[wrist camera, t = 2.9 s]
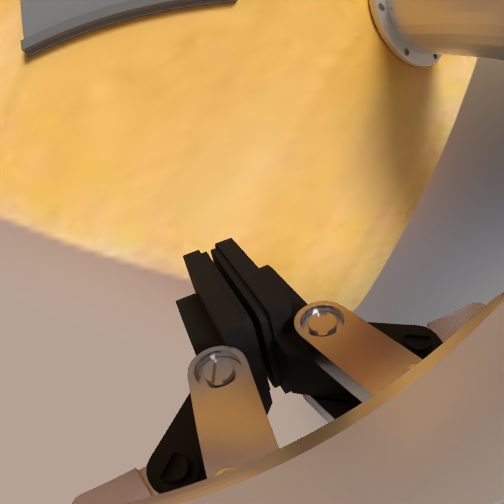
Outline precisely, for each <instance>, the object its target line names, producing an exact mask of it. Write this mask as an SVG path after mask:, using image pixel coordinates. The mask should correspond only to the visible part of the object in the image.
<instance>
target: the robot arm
mask: <svg viewBox="0 0 504 504" xmlns="http://www.w3.org/2000/svg"><path fill="white" fill-rule="evenodd" d="M369 5H370V11H371V14H372V17H373V20H374V23H375V25H376V27H377V30H378V32H379V33H380V35H381V37H382V39H383V40H384V42H385V43H386V44H387V46H388V47H389V48H390V50H391V51H392V52H393V53H394V54H395V55H396V56H397V57H399V58H400V59H401V60H402V61H404V62H406V63H408V64H410V65H413V66H422V67H426V66H431V65H433V64H434V63H436V62H437V61H438V60H439V58H440V57H441V55H442V54H447V55H462V56H473V57H483V58H491V59H498V60H504V0H369ZM215 247H216V248H215V249H212V250H211V254H212V258H213V261H214V262H213V261H212V259H211V258H210V256H209V255H208V253H207V252H204V253H200V251H199V250H197V251H194V252H192V253H189V254H186V255H184V256H183V258H184V261H185V264H186V267H187V270H188V272H189V275H190V278H191V281H192V284H193V287H194V289H195V292H196V293H195V294H192V295H190V296H187V297H185V298H182V299H180V300H177V301H176V304H177V306H178V309H179V312H180V314H181V317H182V320H183V323H184V325H185V328H186V330H187V333H188V336H189V338H190V341H191V343H192V346H193V348H194V351H195V353H196V357H195V358H194V359H193V360H192V362H191V363H190V366H189V368H188V382H189V388H190V394H189V395H188V397H187V399H186V400H185V402H184V403H183V405H182V407H181V408H180V410H179V412H178V414H177V415H176V417H175V418H174V420H173V422H172V423H171V425H170V426H169V428H168V430H167V431H166V433H165V435H164V436H163V438H162V439H161V441H160V443H159V445H158V446H157V448H156V449H155V451H154V453H153V454H152V456H151V457H150V459H149V462H148V464H147V466H146V467H144V468H142V469H140V470H137V469H136V468H134V469H133V470H130V471H129V472H127V473H125V474H123V475H121V476H119V477H117V478H115V479H113V480H111V481H109V482H107V483H104V484H102V485H100V486H98V487H96V488H94V489H92V490H89V491H87V492H85V493H83V494H81V495H79V496H78V497H76V498H75V500H74V501H73V503H72V504H504V292H503V293H501V294H500V295H498V296H497V297H496V298H494V299H493V300H492V301H491V302H489V303H488V304H487V305H484V304H482V303H472V304H468V305H467V306H465V307H463V308H460V309H458V310H456V311H454V312H452V313H450V314H448V315H445V316H443V317H441V318H439V319H436V320H434V321H432V322H429V323H428V325H427V327H423V326H417V325H400V324H386V323H372V322H366V321H364V320H363V319H361V318H360V317H358V316H357V315H355V314H354V313H352V312H351V311H349V310H348V309H346V308H345V307H343V306H341V305H339V304H337V303H334V302H329V301H319V302H315V303H311V304H309V305H308V304H307V303H306V302H305V301H304V300H303V299H302V298H301V297H300V296H299V295H298V294H297V293H296V292H295V291H294V290H293V289H292V288H291V287H290V286H289V285H288V284H287V283H286V282H285V281H284V280H283V279H282V278H281V277H280V276H279V275H278V274H277V273H276V271H275V270H274V269H273V268H272V267H270V266H269V265H266V266H263V267H261V268H258V267H257V266H256V265H255V264H254V262H253V261H252V260H251V259H250V258H249V257H248V256H247V255H246V254H245V252H244V251H243V250H242V249H241V248H240V247H239V246H238V245H237V244H236V242H235V241H234V240H233V239H232V238H229V239H227V240H224V241H221V242H219V243H216V244H215ZM267 377H268V379H269V380H270V382H271V383H272V385H273V386H274V387H275V388H276V387H278V386H281V388H282V389H283V391H284V392H285V394H286V393H288V392H290V391H292V392H293V393H297V394H303V397H304V398H305V400H306V401H307V402H308V403H309V404H310V405H311V406H312V407H313V408H314V409H315V410H316V411H317V412H318V413H319V414H320V415H321V416H322V417H324V419H325V420H326V421H328V422H329V423H328V424H326V425H325V426H323V427H321V428H319V429H317V430H316V431H314V432H312V433H310V434H308V435H306V436H304V437H302V438H300V439H298V440H297V441H295V442H293V443H291V444H289V445H287V446H285V447H283V448H281V449H279V447H278V444H277V442H276V439H275V436H274V433H273V431H272V428H271V425H270V423H269V420H268V417H267V414H268V412H269V409H270V407H271V404H272V399H271V395H270V392H269V391H270V387H269V383H268V379H267Z"/></svg>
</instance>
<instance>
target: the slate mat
mask: <svg viewBox="0 0 504 504" xmlns="http://www.w3.org/2000/svg"><path fill="white" fill-rule="evenodd" d="M234 1H238V0H21V12H22V23H23V32H24V39H23V40H21V47H22V51H24V52H26V53H27V56H28V57H29V56H31V55H33V54H35V53H37V52H40V51H42V50H44V49H46V48H49V47H51V46H53V45H55V44H58V43H60V42H63V41H65V40H68V39H70V38H73V37H76V36H78V35H81V34H84V33H86V32H89V31H92V30H95V29H98V28H101V27H104V26H108V25H111V24H114V23H118V22H121V21H125V20H128V19H132V18H136V17H140V16H144V15H149V14H153V13H158V12H162V11H167V10H173V9H178V8H184V7H191V6H197V5H205V4H213V3H223V2H234Z"/></svg>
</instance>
